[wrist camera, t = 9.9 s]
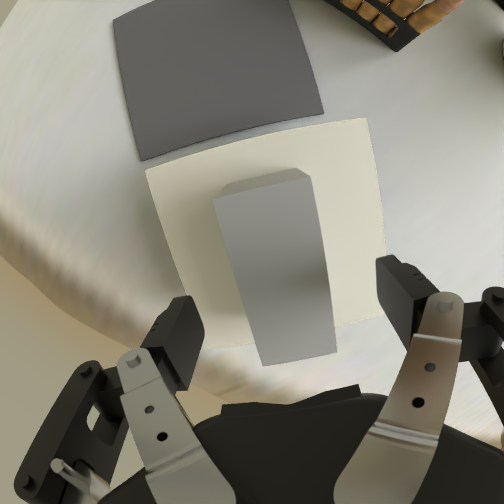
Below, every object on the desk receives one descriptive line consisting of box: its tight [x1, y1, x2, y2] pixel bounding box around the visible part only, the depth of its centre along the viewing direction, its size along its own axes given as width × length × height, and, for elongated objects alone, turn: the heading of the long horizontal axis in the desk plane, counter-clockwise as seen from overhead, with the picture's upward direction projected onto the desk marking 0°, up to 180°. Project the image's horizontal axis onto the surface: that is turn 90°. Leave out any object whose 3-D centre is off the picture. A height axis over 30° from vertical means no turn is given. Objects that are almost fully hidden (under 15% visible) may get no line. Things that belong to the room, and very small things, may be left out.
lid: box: [144, 117, 386, 366], centre depth 15 cm, size 14×14×6 cm
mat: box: [113, 0, 324, 161], centre depth 19 cm, size 16×16×1 cm
